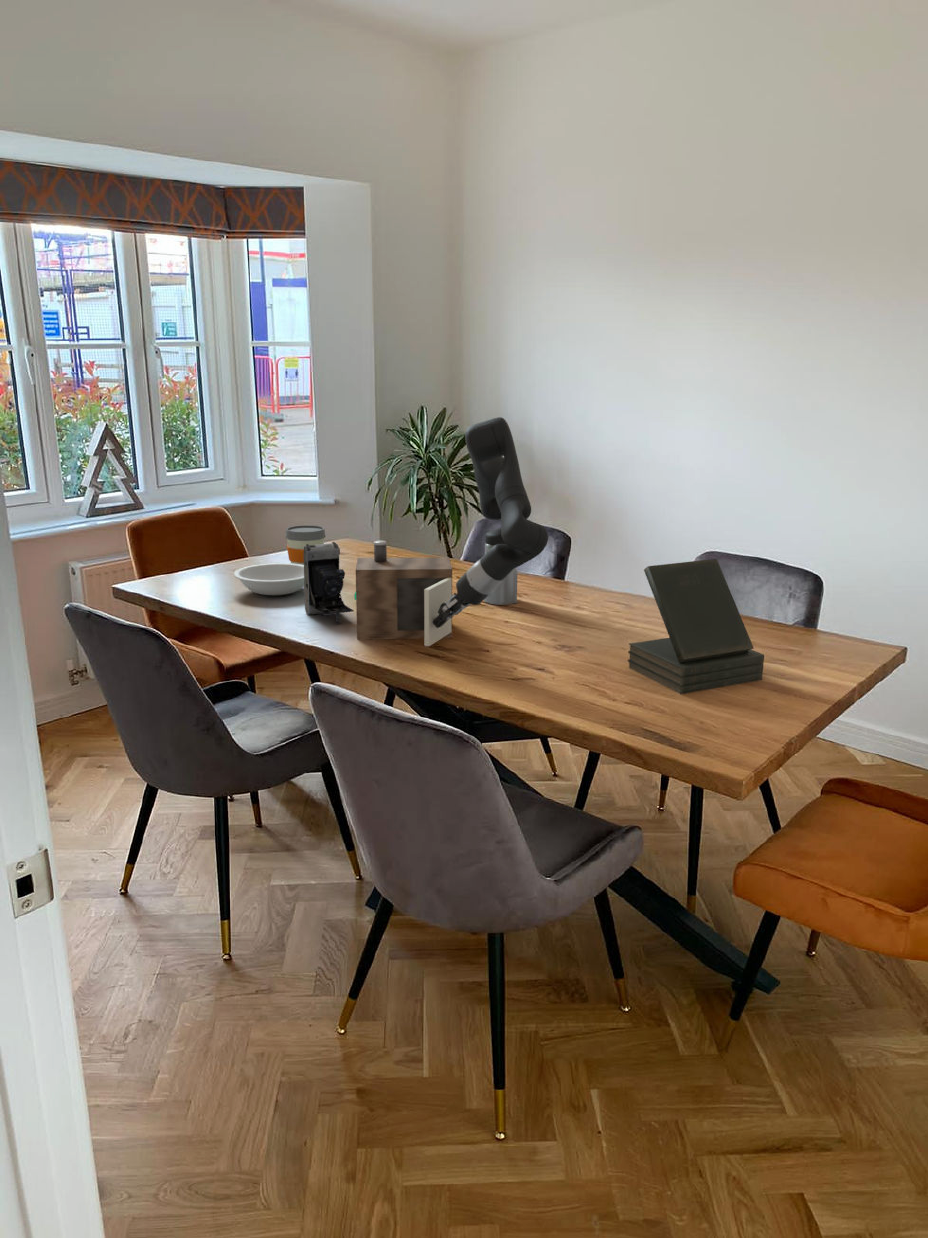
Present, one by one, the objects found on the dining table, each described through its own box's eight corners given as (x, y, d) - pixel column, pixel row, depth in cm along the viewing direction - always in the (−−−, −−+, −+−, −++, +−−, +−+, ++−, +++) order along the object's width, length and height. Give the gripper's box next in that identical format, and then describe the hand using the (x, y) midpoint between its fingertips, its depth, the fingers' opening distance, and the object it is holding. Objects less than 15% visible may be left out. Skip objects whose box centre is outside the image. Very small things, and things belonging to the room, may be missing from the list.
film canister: (387, 559, 250) (386, 540, 249) (387, 562, 247) (386, 543, 245) (374, 559, 250) (373, 540, 248) (373, 562, 246) (373, 543, 245)
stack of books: (679, 695, 207) (688, 582, 200) (627, 668, 224) (633, 563, 217) (762, 681, 216) (773, 572, 209) (705, 656, 233) (714, 555, 226)
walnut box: (449, 622, 258) (449, 557, 253) (451, 638, 245) (452, 569, 240) (359, 623, 257) (357, 557, 252) (357, 639, 243) (355, 569, 238)
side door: (448, 630, 244) (448, 577, 240) (452, 631, 244) (453, 577, 240) (424, 645, 232) (424, 589, 228) (428, 646, 231) (428, 589, 227)
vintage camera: (321, 629, 253) (321, 555, 247) (303, 612, 266) (302, 542, 260) (356, 625, 258) (357, 552, 252) (336, 609, 271) (336, 540, 265)
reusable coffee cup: (323, 579, 305) (321, 532, 301) (283, 578, 305) (281, 532, 301) (329, 570, 317) (327, 525, 313) (291, 569, 317) (289, 524, 313)
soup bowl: (309, 604, 276) (308, 581, 274) (225, 603, 276) (224, 580, 274) (322, 584, 299) (321, 563, 297) (245, 583, 299) (244, 562, 297)
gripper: (484, 563, 229) (441, 606, 238) (455, 574, 218) (411, 619, 227) (503, 587, 228) (459, 629, 237) (475, 599, 217) (430, 643, 226)
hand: (436, 624), depth 232 cm, fingers closed
